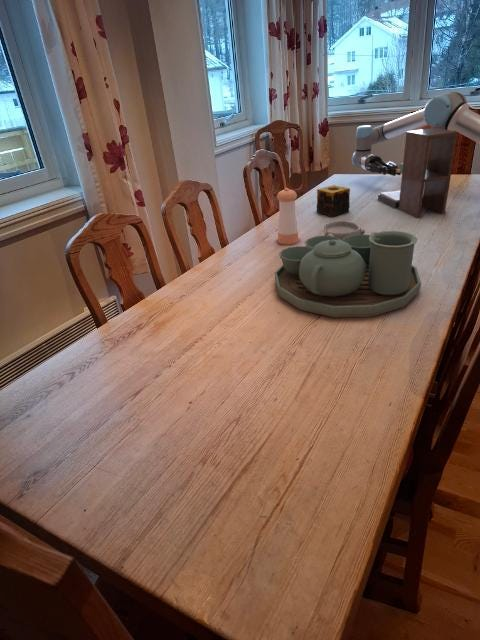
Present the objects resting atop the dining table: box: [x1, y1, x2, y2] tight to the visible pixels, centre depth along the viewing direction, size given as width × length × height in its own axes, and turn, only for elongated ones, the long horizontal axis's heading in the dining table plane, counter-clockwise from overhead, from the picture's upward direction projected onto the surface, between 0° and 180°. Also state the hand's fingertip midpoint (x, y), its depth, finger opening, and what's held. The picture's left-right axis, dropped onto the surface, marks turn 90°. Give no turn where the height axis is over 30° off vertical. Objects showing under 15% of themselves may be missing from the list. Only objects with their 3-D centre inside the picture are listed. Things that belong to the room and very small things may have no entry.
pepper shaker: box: [276, 187, 299, 245], centre depth 153 cm, size 7×7×19 cm
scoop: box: [396, 163, 403, 174], centre depth 183 cm, size 21×6×4 cm, turn 12°
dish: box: [322, 220, 366, 241], centre depth 153 cm, size 14×14×5 cm
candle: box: [316, 184, 351, 218], centre depth 181 cm, size 10×10×10 cm
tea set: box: [274, 230, 422, 318], centre depth 119 cm, size 40×40×16 cm
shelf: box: [398, 127, 459, 218], centre depth 168 cm, size 14×12×30 cm
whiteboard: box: [377, 189, 423, 209], centre depth 187 cm, size 15×14×3 cm
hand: (397, 172), depth 187 cm, fingers closed on scoop, 2 cm apart
